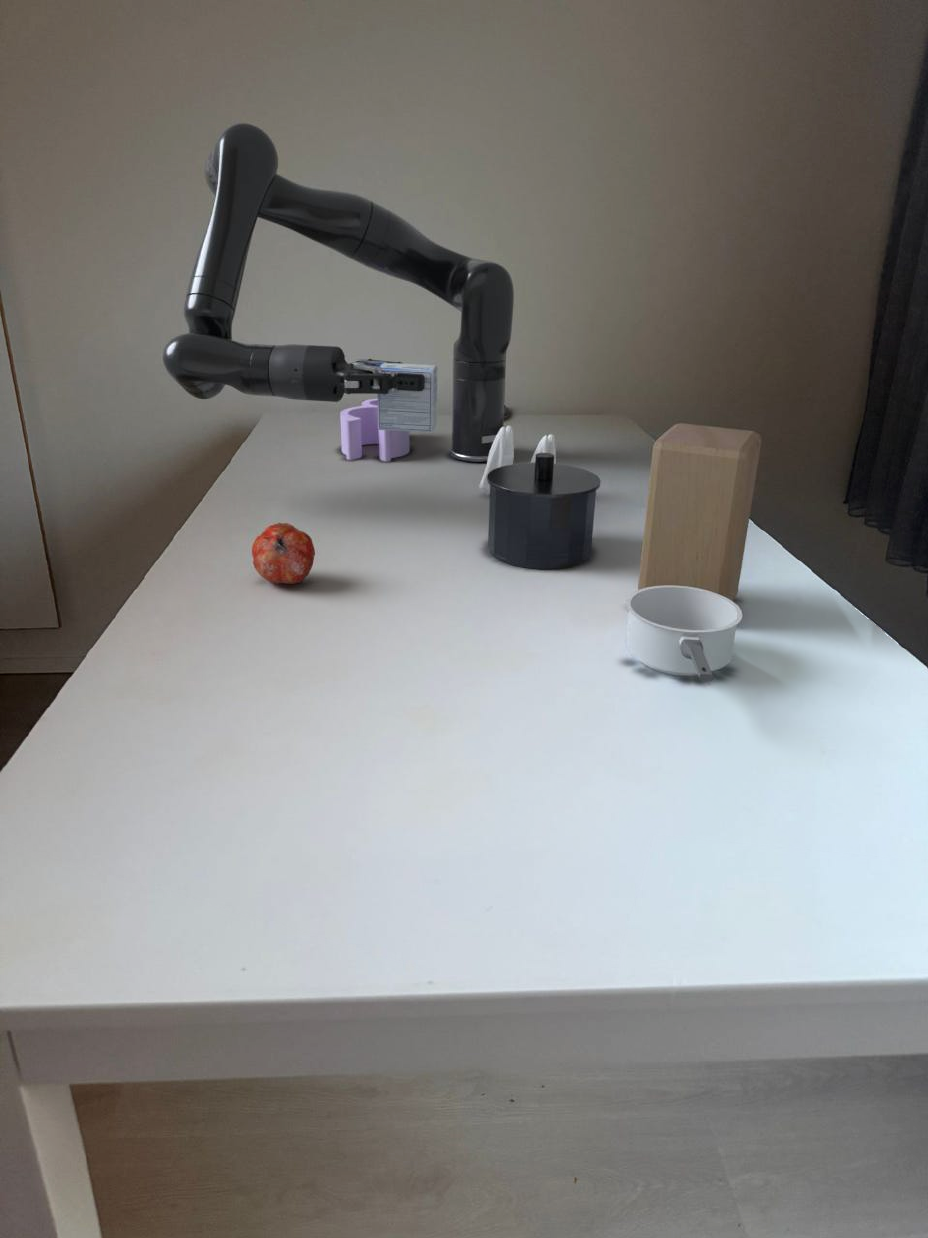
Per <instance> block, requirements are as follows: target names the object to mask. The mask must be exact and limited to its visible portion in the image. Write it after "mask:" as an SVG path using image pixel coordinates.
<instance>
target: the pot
mask: <svg viewBox="0 0 928 1238" xmlns="http://www.w3.org/2000/svg"><path fill="white" fill-rule="evenodd" d="M596 493H597V490H596V491H594V492H592V493H589V494H586V495H582V496H576V497H568V498H535V497H525V496H519V495H514V494H510V493H506V492H503V491H500V490H498V489H495V488H494V487H492V486H491V485H490V494H489V502H488V503H489V505H488V506H489V507H488V533H487V535H488V536H487V548H488V552H489V554H490V555H491V556H492V557H493V558H495V559H496V560H498V561H500V562H502V563H505V564H508V565H511V566H515V567H519V568H526V569H532V570H533V569H534V570H557V569H559V570H560V569H565V568H571V567H575V566H578V565H580V564H583V563H585V562H586V561H587V560H589V558H590V557H591V554H592V546H593V534H594V533H593V532H594V520H595V510H596V508H595V507H596V498H597V496H596V495H597V494H596Z"/></svg>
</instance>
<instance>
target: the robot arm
mask: <svg viewBox="0 0 928 1238" xmlns="http://www.w3.org/2000/svg"><path fill="white" fill-rule="evenodd" d="M278 169H279V156H278V151H277V148H276V146H275V144H274V141H273V140H272V138H271V137H270V135H269V134H268V133H267V132H265V131H264V130H263V129H262V128H261V127H259V126H257V125H254V124H252V123H248V122H238V123H235V124H232V125H230V126H229V127H227V128H226V129H224V131H223V132H221V134H219V136H218V138H217V139H216V141H215V142H214V145H213V147H212V149H211V151H210V153H209V155H208V157H207V159H206V161H205V165H204V169H203V174H204V175H203V176H204V179H205V183H206V185H207V188H208V189H209V190H210V192H211V193H212V194H213V195H214V200H213V206H212V209H211V214H210V216H209V220H208V223H207V225H206V229H205V232H204V235H203V237H202V240H201V243H200V245H199V248H198V251H197V254H196V257H195V260H194V262H193V267H192V270H191V274H190V278H189V282H188V287H187V290H186V293H185V299H184V303H183V318H184V320H185V323H186V324H187V328H188V332H187V333H182V334H179V335H176V336H174V337H173V338H171V339H169V341H168V342H167V343H166V344H165V346H164V348H163V351H162V363H163V366H164V368H165V371H166V372H167V373H168V375H169V376H170V377H171V378H172V379H174V381H175V382H176V383H177V384H178V385H179V386H180V387H182V389H183V390H184V391H185V392H187V393H188V394H189V395H190V396H192V397H194V398H196V399H200V400H209V399H213V398H215V397H217V396H218V395H219V394H220V393H221V392H222V391H223V390H224V388H225V386H229V387H231V388H233V389H235V390H237V391H238V392H241V393H242V394H246V395H249V396H259V397H261V396H262V397H264V396H265V397H276V398H283V399H289V400H296V401H297V400H298V401H314V402H316V401H317V402H331V403H338V402H340V401H341V400H342V399H343V397H344V395H345V394H347V395H355V394H356V395H357V394H358V395H365V394H366V395H369V394H371V395H378V394H387V393H389V391H390V392H394V391H396V388H397V390H405V391H423V390H424V388H425V377H424V375H423V374H411V373H397V376H396V372H394V371H390V372H389V371H382V367H380V366H381V365H382V364H383V363H398V364H404V362H401V361H390V360H389V361H388V360H380V359H372V358H368V359H366V358H357V359H355V361H352V362H351V363H350V362H349V363H348V362H347V360H346V356H345V353H344V351H343V349H342V348H341V347H339V346H334V345H317V344H316V345H315V344H314V345H313V344H298V343H297V344H296V343H295V344H293V343H292V344H291V343H290V344H277V345H276V344H262V343H261V344H259V343H256V344H254V343H245V342H244V343H243V342H239V341H236V340H233V321H234V318H235V314H236V311H237V306H238V301H239V297H240V293H241V289H242V288H241V287H242V284H243V278H244V274H245V269H246V263H247V260H248V254H249V251H250V247H251V246H250V245H251V242H252V238H253V233H254V230H255V228H256V224H257V221H258V219H261V220H265V221H267V222H270V223H274V224H276V225H278V226H280V227H283V228H286V229H289V230H290V231H293V232H295V233H296V234H299V235H300V236H303V237H305V238H307V239H310V240H311V241H314V242H316V243H318V244H319V245H323V246H324V247H327V248H329V249H331V250H333V251H335V252H337V253H339V254H340V255H342V256H344V257H346V258H348V259H350V260H352V261H355V262H357V263H358V264H360V265H363V266H365V267H366V268H368V269H372V270H373V271H377V272H378V273H381V274H384V275H386V276H389V277H391V278H395V279H398V280H402V281H404V282H409V283H411V284H414V285H415V286H418V287H421V288H422V289H424V290H426V291H428V292H429V293H431V294H433V295H434V296H436V297H437V298H439V299H441V300H442V301H444V302H445V303H447V304H449V305H450V306H452V307H453V308H454V309H456V310H458V311H459V312H461V316H460V330H459V335H458V338H457V339H456V340H455V341H454V343H453V347H452V348H453V349H452V350H453V351H452V357H453V359H452V414H451V415H452V417H451V419H452V421H451V422H452V423H451V424H452V425H451V427H452V429H451V449H450V450H451V451H450V455H451V457H452V458H454V459H456V460H459V461H463V462H472V463H487V461H488V456H489V452H490V449H491V447H492V444H493V442H494V440H495V437H496V435H497V434H498V432H499V430H500V429H501V428H502V427H505V425H504V424H505V423H504V422H505V418H506V417H507V415H508V413H509V410H508V408H507V406H506V405H505V398H506V397H505V396H506V368H507V367H506V366H507V352H508V348H509V346H510V343H511V338H512V330H513V318H514V317H513V316H514V303H515V302H514V301H515V292H514V291H515V290H514V282H513V279H512V277H511V274H510V273H509V271H508V270H507V269H506V268H505V267H504V266H503V265H501V264H500V263H497V262H494V261H489V260H484V259H479V258H474V257H471V256H468V255H464V254H462V253H459V252H457V251H454V250H452V249H449V248H446V247H444V246H442V245H440V244H439V243H436V242H435V241H433V240H431V238H428V237H427V236H426V235H424V233H422V232H421V231H420V230H419V229H417V228H416V227H415V226H414V225H412V224H411V223H410V222H408V221H407V220H406V219H405V218H403V217H401V216H400V215H398V214H397V213H395V212H394V211H392V210H390V209H388V208H386V207H384V206H383V205H381V204H378V203H376V202H374V201H373V200H371V199H369V198H367V197H365V196H361V195H359V194H356V193H351V192H346V191H341V190H331V189H322V188H321V189H320V188H315V187H309V186H305V185H303V184H299V183H297V182H295V181H292V180H290V179H288V178H287V177H284V176H283V175H281V174H279V173H278Z"/></svg>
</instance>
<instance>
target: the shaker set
mask: <svg viewBox="0 0 928 1238" xmlns="http://www.w3.org/2000/svg"><path fill="white" fill-rule="evenodd" d="M514 445H515V444H514V431H513V427H512V426H511V425H507V426H506V427H505V426H504V427H502V428H501V429H500V430H499V432H498V434H497V435H496V437H495V440H494V442H493V444H492V447H491V449H490V452H489V456H488V461H487V462H486V466H485V469H484V472H483V475H482V477H481V480H480V482H479V488H480V489H481V491H483V492H484V493H485V494H488V495H490V485H489V483H488V481H487V475H488V473H489V472H490V471H492V470H494V469H496V468H499V467H502V466H507V465H513V464H514V457H515V456H514V455H515V448H514V447H515V446H514ZM537 453H551V454H553V455H554V464H557V462H556V461H557V459H556V458H557V455H556V438H555V435H554V434H552V433H551V434H549V435H543V436H542V438H541V439H540V441H539V443H538V444H537V446H536V449H535V450H534V453H533V455H532V457H531V461H530V463H535V456H536V454H537Z"/></svg>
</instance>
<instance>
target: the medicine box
mask: <svg viewBox="0 0 928 1238" xmlns="http://www.w3.org/2000/svg"><path fill="white" fill-rule="evenodd" d="M380 367H382V371H389V372H390V371H394V372H396V376H397V373H411V374H423V375H424V377H425V388H424V390H423V391H405V390H397V388H396V391H394V392H390V391H389V393H387V394H377V399H378V430H396V431H409V432H415V433H416V432H418V433H433V432H434V431H435V429H436V427H437V425H438V366H437V364H436V365H435V364H418V363H403V364H398V363H383V364H382V365H381V366H380Z"/></svg>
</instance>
